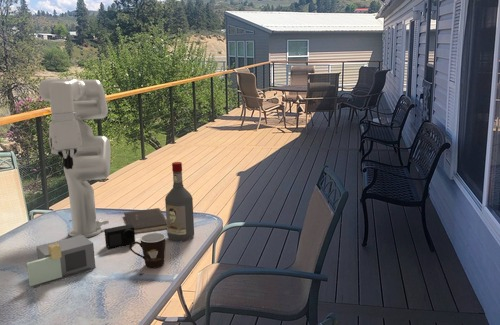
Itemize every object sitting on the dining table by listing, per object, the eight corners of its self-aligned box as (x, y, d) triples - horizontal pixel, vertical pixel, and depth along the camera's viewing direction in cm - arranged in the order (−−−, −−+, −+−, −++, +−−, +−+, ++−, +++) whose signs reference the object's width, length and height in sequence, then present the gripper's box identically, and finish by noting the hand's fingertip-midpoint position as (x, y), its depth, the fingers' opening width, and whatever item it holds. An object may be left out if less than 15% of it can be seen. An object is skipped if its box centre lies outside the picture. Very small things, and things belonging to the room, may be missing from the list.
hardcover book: (131, 234, 213) (130, 229, 212) (124, 217, 234) (123, 212, 234) (170, 229, 218) (170, 224, 218) (160, 212, 239) (159, 207, 239)
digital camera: (109, 251, 196) (107, 233, 195) (105, 246, 201) (104, 228, 199) (136, 245, 201) (135, 228, 199) (132, 240, 206) (131, 223, 204)
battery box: (84, 258, 190) (82, 234, 188) (97, 269, 181) (95, 244, 179) (23, 275, 177) (20, 250, 175) (34, 287, 168) (31, 261, 166)
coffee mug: (171, 261, 186) (170, 234, 184) (159, 271, 178) (158, 243, 176) (142, 257, 190) (140, 231, 188) (129, 267, 182) (127, 239, 180)
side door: (60, 275, 175) (57, 242, 172) (64, 278, 172) (60, 245, 170) (29, 284, 169) (25, 250, 166) (32, 288, 166) (27, 253, 164)
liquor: (178, 231, 214) (174, 159, 207) (197, 235, 210) (193, 161, 203) (164, 239, 206) (159, 164, 199) (183, 243, 202) (179, 166, 195)
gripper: (80, 113, 191) (85, 163, 195) (37, 118, 182) (43, 170, 186) (88, 115, 185) (93, 166, 189) (44, 120, 176) (50, 174, 180)
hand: (68, 168), depth 188 cm, fingers closed
